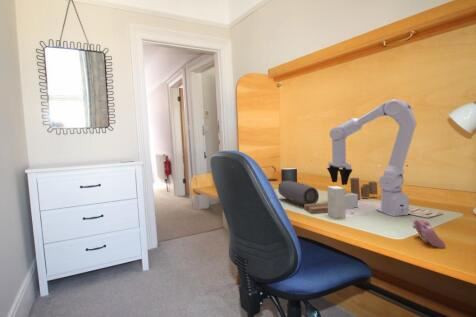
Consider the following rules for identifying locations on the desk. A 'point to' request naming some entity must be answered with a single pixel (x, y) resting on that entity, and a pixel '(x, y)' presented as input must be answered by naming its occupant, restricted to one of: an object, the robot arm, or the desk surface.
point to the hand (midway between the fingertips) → (339, 183)
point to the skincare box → (336, 202)
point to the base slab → (316, 208)
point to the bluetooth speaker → (298, 192)
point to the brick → (351, 200)
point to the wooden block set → (363, 188)
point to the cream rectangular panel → (349, 213)
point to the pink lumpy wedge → (428, 233)
